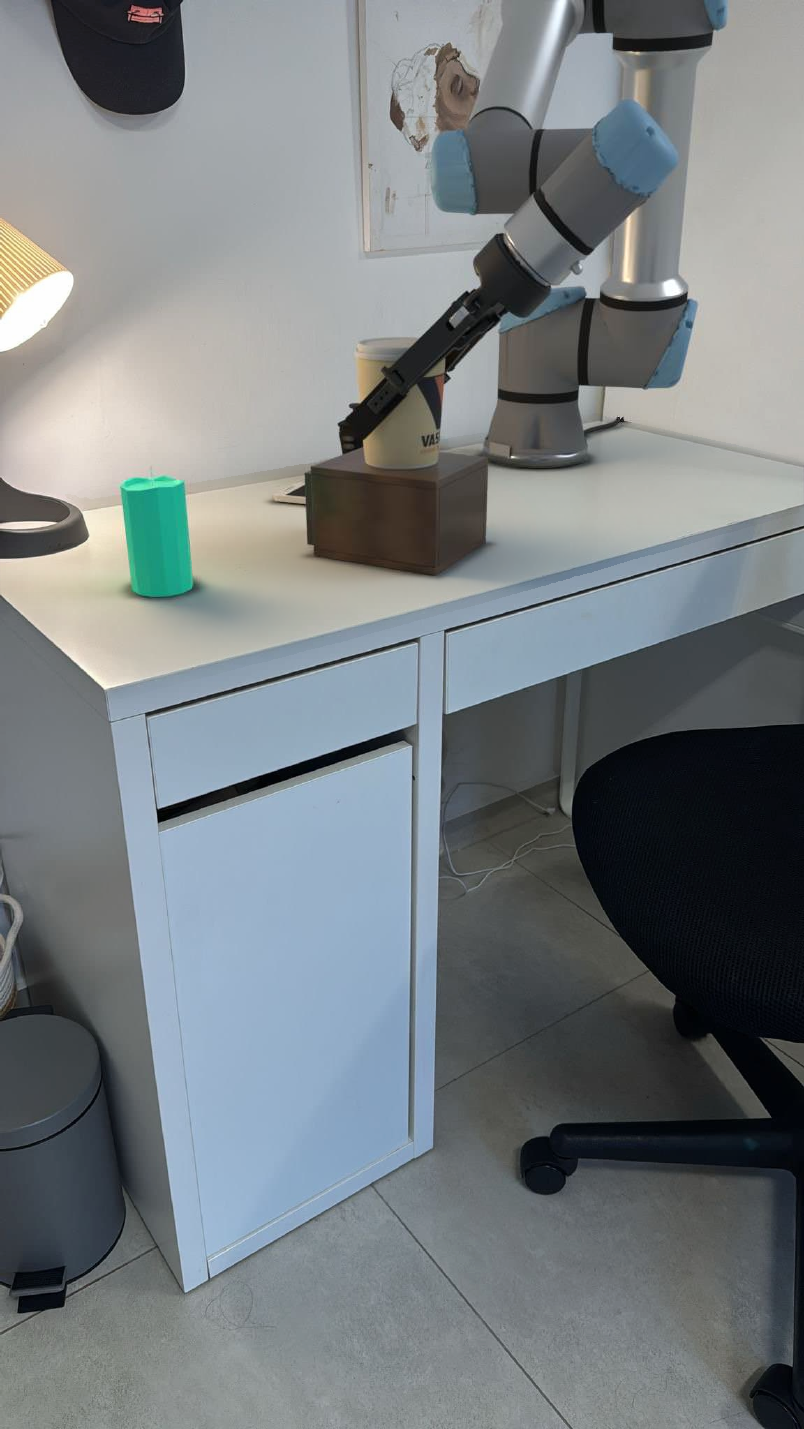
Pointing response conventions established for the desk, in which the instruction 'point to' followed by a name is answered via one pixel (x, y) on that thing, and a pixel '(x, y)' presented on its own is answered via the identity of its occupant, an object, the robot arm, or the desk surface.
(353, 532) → the cabinet
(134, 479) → the candle
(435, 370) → the coffee cup
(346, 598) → the desk surface
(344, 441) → the controller
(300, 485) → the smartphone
